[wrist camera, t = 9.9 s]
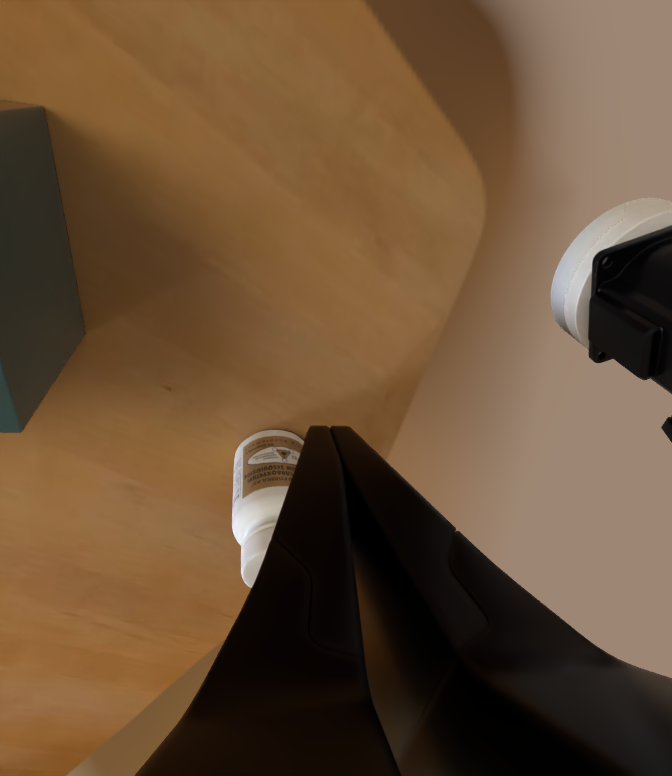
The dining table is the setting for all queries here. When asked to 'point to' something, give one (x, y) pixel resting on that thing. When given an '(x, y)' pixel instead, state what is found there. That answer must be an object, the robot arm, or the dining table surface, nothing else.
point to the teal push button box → (32, 268)
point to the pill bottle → (261, 492)
